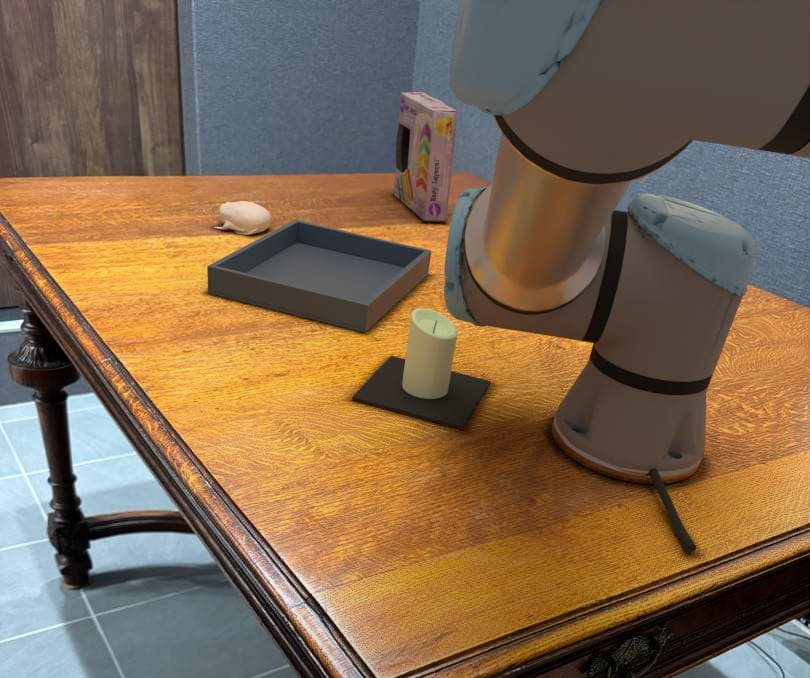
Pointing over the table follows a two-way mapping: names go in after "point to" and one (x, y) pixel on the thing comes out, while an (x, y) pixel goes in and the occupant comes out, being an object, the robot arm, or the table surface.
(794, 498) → the table surface
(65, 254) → the table surface
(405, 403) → the mat
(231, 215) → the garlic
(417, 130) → the cake pan box
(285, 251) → the bin
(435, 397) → the candle
